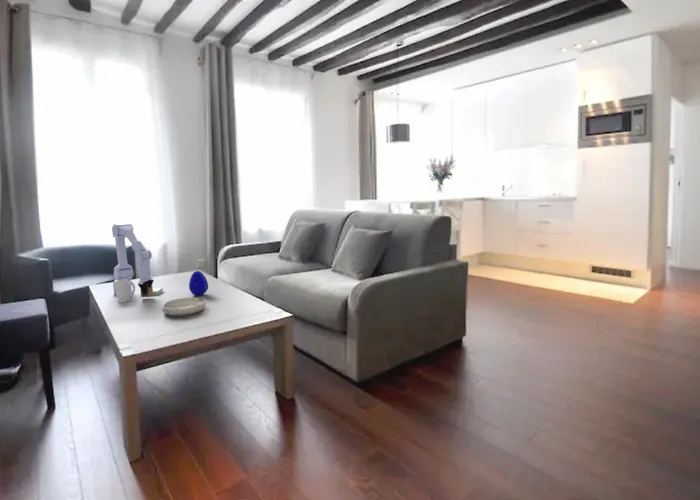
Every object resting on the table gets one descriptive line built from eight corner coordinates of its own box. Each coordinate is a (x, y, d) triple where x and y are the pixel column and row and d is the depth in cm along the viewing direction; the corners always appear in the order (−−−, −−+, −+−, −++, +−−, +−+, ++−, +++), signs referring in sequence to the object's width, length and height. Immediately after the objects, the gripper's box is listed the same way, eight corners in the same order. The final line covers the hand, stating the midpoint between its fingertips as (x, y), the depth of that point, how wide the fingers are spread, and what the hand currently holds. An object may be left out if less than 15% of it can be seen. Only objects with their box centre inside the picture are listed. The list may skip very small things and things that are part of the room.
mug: (116, 303, 243) (114, 282, 241) (116, 300, 249) (114, 280, 247) (136, 300, 248) (134, 280, 246) (135, 298, 254) (134, 278, 252)
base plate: (142, 295, 259) (142, 291, 258) (148, 292, 268) (147, 288, 267) (157, 295, 259) (157, 291, 259) (163, 291, 268) (162, 287, 268)
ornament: (211, 294, 261) (209, 270, 259) (200, 297, 253) (198, 273, 250) (197, 292, 266) (195, 268, 263) (186, 296, 257) (184, 271, 255)
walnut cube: (141, 297, 248) (140, 288, 248) (144, 294, 253) (143, 286, 253) (149, 296, 249) (149, 288, 248) (153, 294, 254) (152, 286, 253)
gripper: (147, 273, 242) (149, 296, 244) (156, 268, 256) (158, 290, 258) (134, 273, 241) (136, 296, 243) (144, 268, 256) (146, 290, 258)
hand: (146, 293), depth 251 cm, fingers closed on walnut cube, 5 cm apart
